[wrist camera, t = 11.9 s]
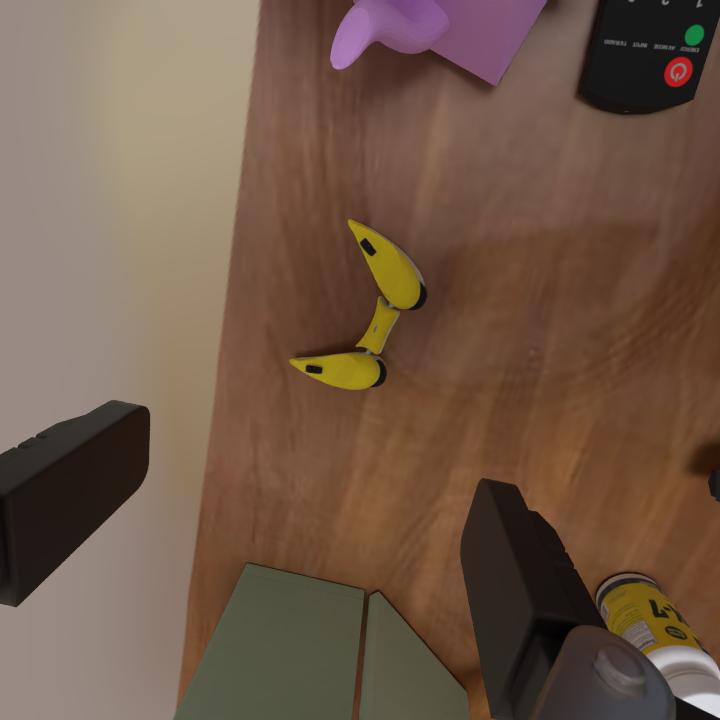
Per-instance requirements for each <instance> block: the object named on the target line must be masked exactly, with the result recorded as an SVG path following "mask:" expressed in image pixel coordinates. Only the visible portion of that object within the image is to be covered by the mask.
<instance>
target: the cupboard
mask: <svg viewBox="0 0 720 720" xmlns="http://www.w3.org/2000/svg"><path fill="white" fill-rule="evenodd" d="M364 593H365V591H364V590H363V589H358V588H354V587H350V586H345V585H341V584H337V583H332V582H328V581H324V580H319V579H315V578H310V577H306V576H302V575H297V574H293V573H289V572H284V571H280V570H276V569H271V568H267V567H263V566H258V565H254V564H250V563H247V564H246V566H245V568H244V570H243V573H242V574H241V576H240V578H239V580H238V583H237V585H236V587H235V589H234V591H233V593H232V595H231V597H230V599H229V602H228V604H227V606H226V608H225V610H224V612H223V614H222V616H221V619H220V621H219V623H218V625H217V627H216V629H215V631H214V633H213V636H212V638H211V640H210V642H209V644H208V646H207V648H206V650H205V653H204V655H203V657H202V659H201V661H200V663H199V665H198V667H197V670H196V672H195V674H194V676H193V678H192V680H191V682H190V684H189V687H188V689H187V691H186V693H185V695H184V697H183V699H182V701H181V703H180V706H179V708H178V710H177V712H176V714H175V716H174V718H173V720H352V711H353V701H354V692H355V682H356V672H357V662H358V652H359V643H360V633H361V623H362V613H363V603H364Z"/></svg>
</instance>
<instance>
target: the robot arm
mask: <svg viewBox="0 0 720 720" xmlns="http://www.w3.org/2000/svg"><path fill="white" fill-rule="evenodd" d="M149 441H150V413H149V410H148V408H147V407H145V406H141V405H136V404H131V403H126V402H122V401H117V400H111V401H109V402H107V403H106V404H104V405H102V406H100V407H98V408H97V409H95V410H93V411H91V412H90V413H88V414H86V415H83V416H80V417H77V418H73V419H70V420H67V421H63V422H60V423H57V424H55V425H53V426H52V427H50V428H48V429H46V430H44V431H42V432H41V433H39V434H37V435H36V437H35V438H34V437H31V438H30V439H28V440H26V441H24V442H22V443H21V444H19V445H18V447H17V448H15V447H13V448H12V449H10V450H8V451H6V452H4V453H2V454H1V455H0V604H4V605H9V606H13V607H17V606H19V604H21V603H22V602H23V601H24V600H25V599H26V598H27V597H28V596H29V595H30V594H31V593H32V592H33V591H34V590H35V589H36V588H37V587H38V586H39V585H40V584H41V583H42V582H43V581H44V580H45V579H46V578H47V577H48V576H49V575H50V574H51V573H52V572H53V571H55V569H57V568H58V567H59V566H60V565H61V564H62V563H63V562H64V561H65V560H66V559H67V558H68V557H69V556H70V554H72V553H73V552H74V551H75V550H76V549H77V548H78V547H79V546H80V545H81V544H82V543H83V542H84V541H85V540H86V539H87V538H88V537H89V536H90V535H91V534H92V533H94V532H95V531H96V530H97V529H98V528H99V527H100V526H101V525H102V524H103V523H104V522H105V521H106V520H107V519H108V518H109V517H110V516H111V515H112V514H113V513H114V512H115V511H116V510H117V509H118V508H119V507H120V506H121V505H122V504H123V503H124V502H125V501H126V500H127V499H129V498H130V496H132V495H133V494H134V492H136V491H137V490H138V489H139V487H140V486H141V484H142V483H143V481H144V479H145V476H146V474H147V471H148V465H149ZM460 557H461V564H462V569H463V574H464V580H465V585H466V590H467V595H468V600H469V605H470V611H471V616H472V621H473V626H474V631H475V637H476V642H477V647H478V652H479V657H480V662H481V668H482V673H483V678H484V683H485V688H486V694H487V699H488V704H489V709H490V714H491V718H494V719H498V720H720V718H718V717H716V716H714V715H712V714H710V713H708V712H706V711H704V710H702V709H700V708H698V707H696V706H694V705H692V704H690V703H688V702H686V701H684V700H682V699H680V698H678V697H676V696H675V695H673V693H672V690H671V688H670V686H669V684H668V683H667V681H666V679H665V678H664V676H663V675H662V674H661V672H660V671H659V669H658V668H657V667H656V666H655V665H654V664H653V662H652V661H651V660H650V659H649V658H648V657H647V656H646V655H645V654H643V653H642V652H641V651H640V650H639V649H638V648H636V647H635V646H634V645H632V644H631V643H630V642H628V641H627V640H625V639H624V638H622V637H620V636H619V635H617V634H615V633H613V632H611V631H609V630H608V628H607V626H606V624H605V622H604V620H603V619H602V617H601V615H600V613H599V611H598V609H597V607H596V606H595V604H594V602H593V600H592V598H591V596H590V594H589V592H588V591H587V589H586V587H585V585H584V583H583V581H582V579H581V577H580V576H579V574H578V572H577V570H576V569H574V564H573V562H572V561H571V559H570V557H569V555H568V553H566V552H565V547H564V546H563V544H562V542H561V540H560V538H559V536H558V534H557V533H556V531H555V529H554V528H553V527H552V526H551V525H550V524H549V523H548V522H547V521H546V520H545V519H544V518H543V517H542V516H541V515H540V514H539V513H538V512H535V511H531V510H528V508H527V506H526V503H525V501H524V499H523V497H522V495H521V493H520V491H519V489H518V487H517V486H516V485H514V484H509V483H504V482H500V481H495V480H490V479H485V478H482V479H481V480H480V482H479V484H478V486H477V489H476V492H475V495H474V498H473V501H472V505H471V508H470V511H469V514H468V517H467V520H466V524H465V527H464V530H463V534H462V539H461V548H460Z"/></svg>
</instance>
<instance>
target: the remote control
mask: <svg viewBox="0 0 720 720" xmlns="http://www.w3.org/2000/svg"><path fill="white" fill-rule="evenodd" d="M719 17H720V0H602V4H601V8H600V12H599V16H598V20H597V25H596V29H595V33H594V37H593V41H592V45H591V49H590V53H589V57H588V61H587V66H586V70H585V74H584V78H583V82H582V86H581V90H580V94H581V95H583V96H584V97H585V98H586V99H588V100H589V101H590V102H591V103H593V104H594V105H595V106H596V107H598V108H600V109H604V110H608V111H612V112H615V113H619V114H640V113H651V112H655V111H659V110H662V109H666V108H670V107H674V106H677V105H681V104H684V103H687V102H689V101H691V100H693V99H694V96H695V93H696V89H697V86H698V83H699V80H700V77H701V74H702V71H703V67H704V64H705V61H706V58H707V55H708V52H709V49H710V45H711V42H712V39H713V36H714V33H715V30H716V27H717V23H718V20H719Z"/></svg>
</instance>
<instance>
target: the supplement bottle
mask: <svg viewBox="0 0 720 720" xmlns="http://www.w3.org/2000/svg"><path fill="white" fill-rule="evenodd" d="M596 604H597V608H598V610H599V612H600V614H601V616H602V618H603V620H604V621H605V624H606V625H607V627H608V629H609V631H611V632H613V633H615V634H617V635H619V636H620V637H622V638H624V639H625V640H627V641H628V642H630V643H631V644H632V645H634V646H635V647H636V648H638V649H639V650H640V651H641V652H642V653H643V654H645V655H646V656H647V657H648V658H649V659H650V660H651V661H652V662H653V664H654V665H655V666H656V667H657V668H658V669H659V671H660V672H661V674H662V675H663V676H664V678H665V679H666V681H667V683H668V684H669V686H670V688H671V690H672V693H673V695H675V696H676V697H678V698H680V699H682V700H684V701H686V702H688V703H690V704H692V705H694V706H696V707H698V708H700V709H702V710H704V711H706V712H708V713H710V714H712V715H714V716H716V717H718V718H720V671H719V669H718V667H717V665H716V663H715V662H714V660H713V659H712V657H711V656H710V654H709V653H708V652H707V651H706V649H705V648H704V646H703V645H702V644H701V642H700V641H699V640H698V638H697V637H696V636H695V634H694V633H693V631H692V630H691V629H690V627H689V626H688V625H687V623H686V622H685V621H684V619H683V618H682V617H681V615H680V614H679V612H678V611H677V610H676V608H675V607H674V606H673V604H672V603H671V602H670V600H669V599H668V597H667V596H666V594H665V593H664V592H663V591H662V589H661V588H660V587H659V586H658V585H657V584H656V583H655V582H654V581H653V580H651V579H650V578H647V577H645V576H642V575H638V574H621V575H617V576H615V577H612V578H610V579H609V580H607V581H606V582H605V583H604V584H603V585H602V586H601V587H600V589H599V590H598V593H597V596H596Z"/></svg>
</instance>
